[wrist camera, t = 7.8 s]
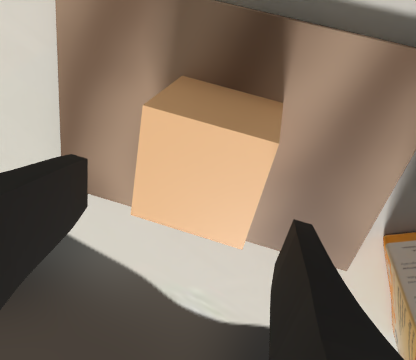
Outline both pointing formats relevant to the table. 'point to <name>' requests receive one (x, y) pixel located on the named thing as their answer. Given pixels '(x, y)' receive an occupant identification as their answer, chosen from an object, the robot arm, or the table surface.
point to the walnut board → (252, 84)
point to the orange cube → (205, 159)
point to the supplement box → (402, 290)
